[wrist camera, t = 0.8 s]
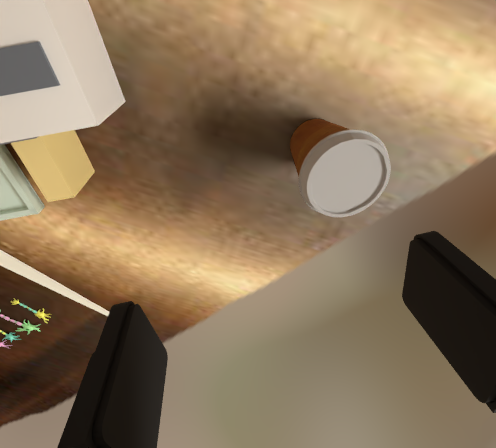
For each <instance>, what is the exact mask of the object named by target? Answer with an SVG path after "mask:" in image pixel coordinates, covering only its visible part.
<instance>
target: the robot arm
mask: <svg viewBox="0 0 496 448" xmlns="http://www.w3.org/2000/svg"><path fill="white" fill-rule="evenodd" d="M402 297H403V301H404V303H405V305H406V306H407V307H408V309H409V310H410V311H411V313H412V314H413V315H414V317H415V318H416V319H417V321H418V322H419V323H420V325H421V326H422V327H423V329H424V330H425V331H426V333H427V334H428V335H429V337H430V338H431V339H432V341H434V343H435V344H436V346H437V347H438V348H439V350H440V351H441V352H442V354H443V355H444V356H445V358H446V359H447V360H448V362H449V363H450V364H451V366H452V367H453V368H454V370H455V371H456V372H457V373H458V375H459V376H460V377H461V379H462V380H463V381H464V383H465V384H466V385H467V387H468V388H469V389H470V391H471V392H472V393H473V395H474V396H475V397H476V398H477V399H478V400H479V401H480V402H482V403H486V404H487V405H488V407H489V408H490V409H491V411H492V412H493V413H496V279H494V278H493V277H492V276H491V275H489V274H488V273H487V272H486V271H485V270H483V269H482V268H481V267H480V266H478V265H477V264H476V263H475V262H474V261H472V260H471V259H470V258H469V257H467V256H466V255H465V254H464V253H463V252H461V251H460V250H459V249H457V247H455V246H454V245H453V244H452V243H450V242H449V241H448V240H447V239H446V238H444V237H443V236H442V235H440V234H439V233H438V232H436V231H431V232H428V233H423V234H419V235H416V236H415V237H414V240H412V241H411V242H410V246H409V252H408V259H407V266H406V273H405V280H404V287H403V294H402ZM166 367H167V352H166V349H165V347H164V345H163V344H162V342H161V340H160V339H159V337H158V335H157V334H156V332H155V330H154V329H153V327H152V325H151V324H150V322H149V320H148V319H147V317H146V315H145V314H144V312H143V310H142V309H141V307H140V306H139V305H138V304H134V303H133V302H132V301H129V302H125V303H120V304H116V305H113V306H112V308H111V310H110V312H109V315H108V318H107V321H106V323H105V326H104V329H103V332H102V335H101V337H100V340H99V343H98V346H97V348H96V351H95V352H94V353H93V354H92V356H91V358H90V361H89V363H88V366H87V369H86V372H85V374H84V377H83V380H82V382H81V385H80V388H79V391H78V393H77V396H76V399H75V402H74V404H73V407H72V410H71V412H70V415H69V418H68V421H67V423H66V426H65V429H64V432H63V434H62V437H61V439H60V442H59V445H58V448H157V441H158V433H159V425H160V416H161V408H162V400H163V392H164V384H165V375H166Z"/></svg>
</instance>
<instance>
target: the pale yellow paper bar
mask: <svg viewBox="0 0 496 448" xmlns="http://www.w3.org/2000/svg"><path fill="white" fill-rule="evenodd" d="M11 145H12V146H13V148H14V149H15V151H16V153H17V154H18V156H19V157H20V159H21V160H22V162H23V164H24V165H25V167H26V168H27V170H28V171H29V173H30V175H31V176H32V178H33V179H34V181H35V182H36V184H37V186H38V187H39V189H40V190H41V192H42V194H43V195H44V197H45V198H46V200H47V201H48V202H51V201H56V200H62V199H67V198H73V197H75V196H76V195H77V194H78V192H79V191H80V190H81V189H82V187H83V186H84V185H85V184H86V182H87V181H88V180H89V179H90V177H91V176H92V175H93V174H94V172H95V171H94V169H93V167H92V165H91V163H90V161H89V159H88V157H87V155H86V153H85V151H84V149H83V146H82V144H81V142H80V140H79V138H78V136H77V134H76V132H75V130H71V131H66V132H60V133H55V134H49V135H44V136H39V137H37V138H35V139H30V140H24V141H19V142H13V143H11Z"/></svg>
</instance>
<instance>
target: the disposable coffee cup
mask: <svg viewBox="0 0 496 448" xmlns="http://www.w3.org/2000/svg"><path fill="white" fill-rule="evenodd" d="M290 150H291V153H292V156H293V160H294V163H295V166H296V169H297V173H298V176H299V190H300V193H301V196H302V198H303V200H304V201H305V203H306V204H307V205H308V206H309V207H310V208H312V209H313V210H315V211H316V212H319V213H322V214H324V215H326V216H331V217H346V216H350V215H354V214H356V213H359V212H361V211H363V210H365V209H366V208H367V207H369V206H370V205H371V204H373V203H374V202H375V201H376V200H377V199H378V197H379V196H380V195H381V194H382V192H383V191H384V190H385V188H386V185H387V183H388V180H389V177H390V169H391V166H390V160H389V156H388V152H387V149H386V147H385V145H384V144H383V142H382V141H381V140H380V139H379V138H378V137H376V136H375V135H373V134H372V133H370V132H367V131H364V130H357V129H353V130H350V129H347V128H344V127H342V126H339V125H337V124H333V123H331V122H328V121H325V120H322V119H311V120H308V121H306V122H304V123H302V124H301V125H300V126H299V127H298V128H297V129H296V130H295V131H294V133H293V135H292V138H291V141H290Z"/></svg>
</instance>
